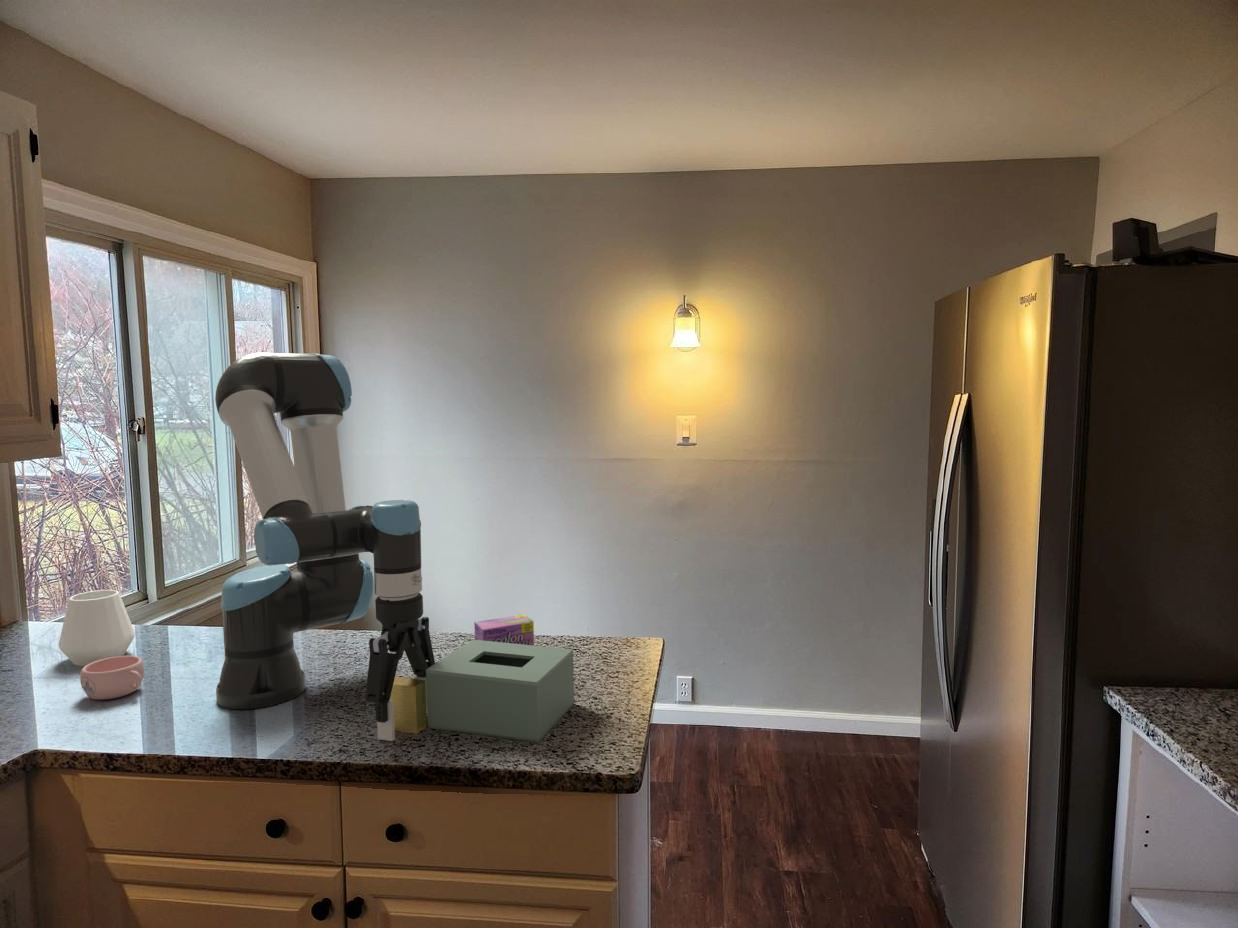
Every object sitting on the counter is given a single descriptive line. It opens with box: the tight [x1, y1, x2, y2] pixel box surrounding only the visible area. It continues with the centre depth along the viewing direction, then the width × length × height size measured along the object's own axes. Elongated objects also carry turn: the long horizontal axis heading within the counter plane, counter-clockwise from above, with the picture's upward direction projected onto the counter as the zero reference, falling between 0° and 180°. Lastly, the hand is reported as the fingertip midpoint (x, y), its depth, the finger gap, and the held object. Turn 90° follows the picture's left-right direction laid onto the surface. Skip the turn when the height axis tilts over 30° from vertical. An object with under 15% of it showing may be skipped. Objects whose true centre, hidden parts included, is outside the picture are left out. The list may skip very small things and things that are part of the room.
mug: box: [79, 655, 145, 700], centre depth 140 cm, size 12×10×6 cm
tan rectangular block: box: [390, 676, 428, 735], centre depth 125 cm, size 7×3×8 cm, turn 72°
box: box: [473, 614, 535, 646], centre depth 146 cm, size 10×6×12 cm, turn 117°
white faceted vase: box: [58, 589, 136, 667], centre depth 160 cm, size 13×13×14 cm
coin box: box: [426, 639, 575, 744], centre depth 129 cm, size 20×16×10 cm
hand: (404, 725), depth 125 cm, fingers open, 9 cm apart
